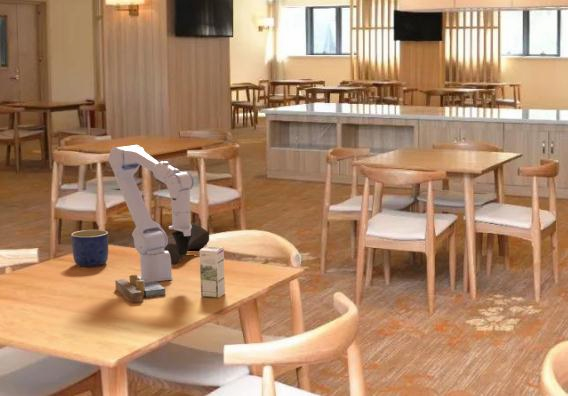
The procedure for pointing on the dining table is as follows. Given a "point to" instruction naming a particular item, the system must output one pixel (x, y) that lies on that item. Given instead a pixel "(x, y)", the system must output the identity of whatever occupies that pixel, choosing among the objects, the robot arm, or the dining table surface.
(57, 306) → the dining table surface
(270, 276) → the dining table surface
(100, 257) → the planter
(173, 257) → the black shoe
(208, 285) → the syrup box
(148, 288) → the steel plate
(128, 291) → the bench dog strip
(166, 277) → the robot arm
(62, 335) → the dining table surface
